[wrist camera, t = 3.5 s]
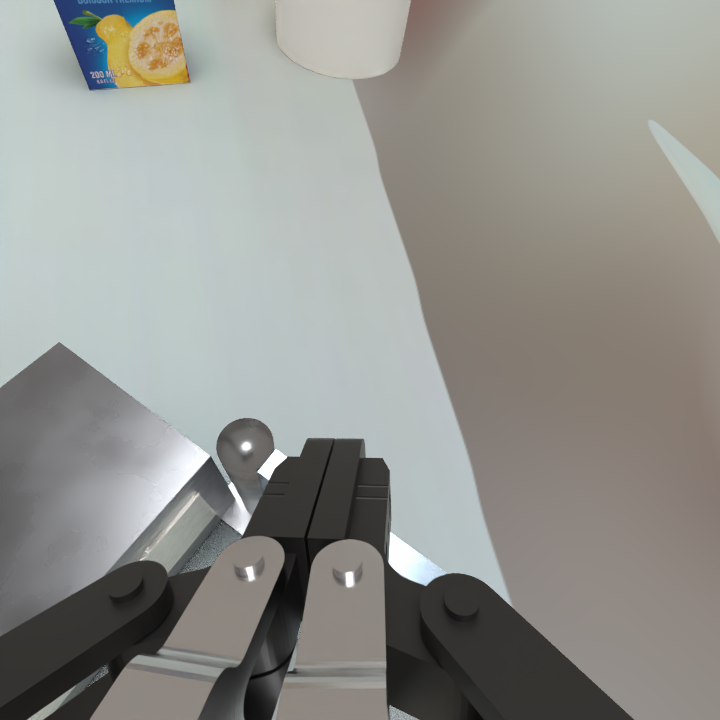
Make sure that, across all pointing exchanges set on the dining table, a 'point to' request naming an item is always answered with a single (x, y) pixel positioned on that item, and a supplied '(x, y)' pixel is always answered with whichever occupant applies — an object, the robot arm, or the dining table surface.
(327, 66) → the white l-shaped bracket
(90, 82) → the blue cardboard box
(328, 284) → the dining table surface
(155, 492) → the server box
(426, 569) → the dough scraper
